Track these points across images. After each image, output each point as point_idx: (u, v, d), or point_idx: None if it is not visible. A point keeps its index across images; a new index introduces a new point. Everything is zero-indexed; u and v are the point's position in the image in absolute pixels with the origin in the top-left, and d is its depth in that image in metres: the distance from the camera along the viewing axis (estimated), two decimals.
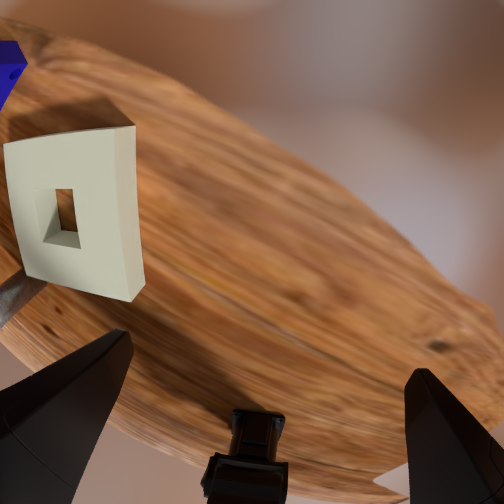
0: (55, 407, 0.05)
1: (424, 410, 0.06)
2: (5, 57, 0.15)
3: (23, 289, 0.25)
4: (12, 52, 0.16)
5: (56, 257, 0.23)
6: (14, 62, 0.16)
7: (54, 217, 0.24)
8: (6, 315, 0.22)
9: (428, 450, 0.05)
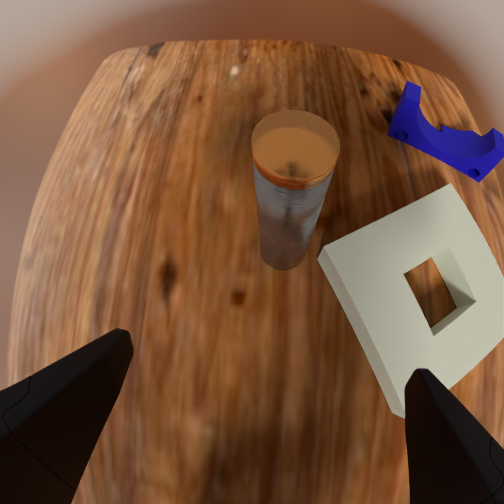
0: (55, 407, 0.05)
1: (424, 410, 0.06)
2: None
3: (306, 245, 0.19)
4: None
5: (399, 302, 0.19)
6: (487, 172, 0.23)
7: None
8: (298, 230, 0.16)
9: (428, 450, 0.05)
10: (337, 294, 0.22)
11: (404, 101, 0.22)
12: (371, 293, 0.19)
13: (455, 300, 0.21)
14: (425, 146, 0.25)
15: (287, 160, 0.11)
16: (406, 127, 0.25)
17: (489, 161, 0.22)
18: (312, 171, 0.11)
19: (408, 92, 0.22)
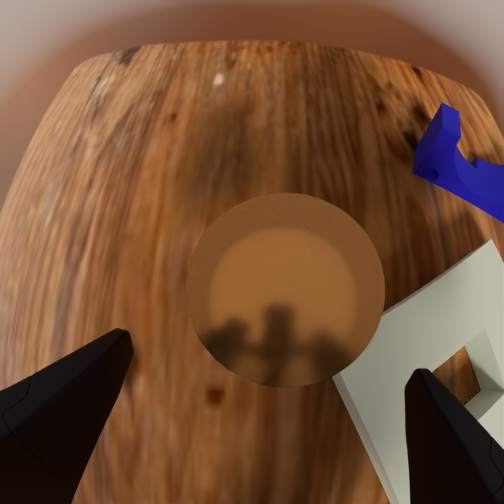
0: (55, 407, 0.05)
1: (424, 410, 0.06)
2: None
3: None
4: None
5: None
6: None
7: None
8: None
9: (428, 450, 0.05)
10: (341, 394, 0.15)
11: (440, 133, 0.16)
12: (385, 405, 0.13)
13: (480, 383, 0.15)
14: (458, 188, 0.19)
15: (264, 345, 0.05)
16: (438, 165, 0.18)
17: None
18: (318, 372, 0.05)
19: (445, 120, 0.15)
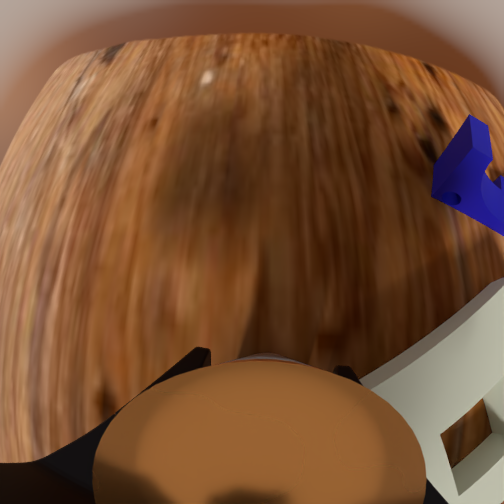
0: None
1: None
2: None
3: None
4: None
5: (426, 472, 0.09)
6: None
7: None
8: None
9: None
10: None
11: (469, 154, 0.12)
12: None
13: (492, 426, 0.12)
14: (482, 215, 0.16)
15: None
16: (462, 189, 0.15)
17: None
18: None
19: (475, 138, 0.12)
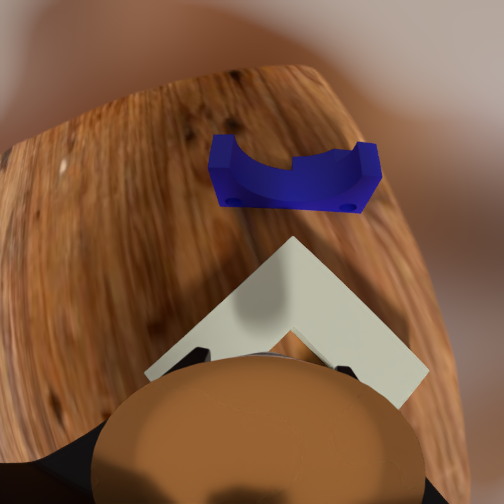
0: None
1: None
2: None
3: None
4: None
5: None
6: None
7: None
8: None
9: None
10: None
11: (210, 172, 0.20)
12: None
13: None
14: (269, 203, 0.24)
15: None
16: (233, 194, 0.23)
17: (362, 192, 0.21)
18: None
19: (213, 156, 0.20)
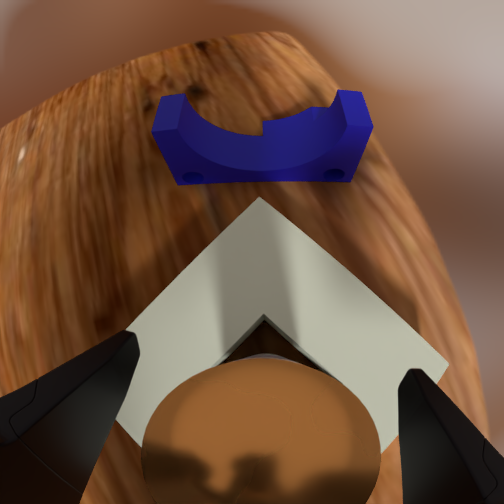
0: (62, 410, 0.05)
1: (417, 410, 0.06)
2: None
3: None
4: None
5: None
6: None
7: (218, 364, 0.15)
8: None
9: (421, 451, 0.05)
10: None
11: (156, 138, 0.15)
12: None
13: (322, 371, 0.15)
14: (235, 175, 0.19)
15: None
16: (190, 166, 0.18)
17: (349, 150, 0.16)
18: None
19: (158, 119, 0.15)
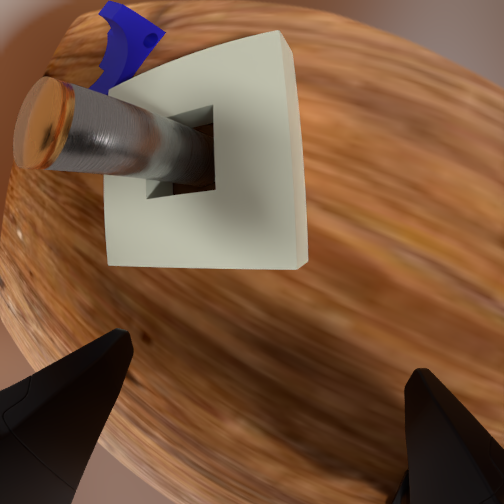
0: (55, 407, 0.05)
1: (424, 410, 0.06)
2: None
3: (193, 146, 0.15)
4: None
5: (166, 217, 0.18)
6: None
7: None
8: (146, 152, 0.12)
9: (428, 450, 0.05)
10: None
11: None
12: (149, 244, 0.19)
13: None
14: None
15: (31, 144, 0.08)
16: None
17: (134, 23, 0.17)
18: (45, 129, 0.07)
19: None
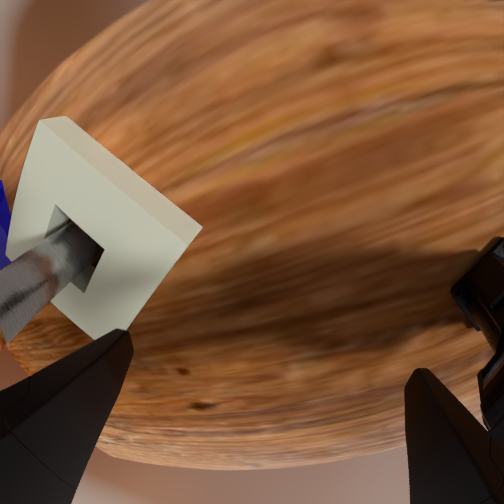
0: (55, 407, 0.05)
1: (424, 410, 0.06)
2: None
3: (68, 240, 0.17)
4: None
5: (102, 292, 0.20)
6: None
7: None
8: (43, 277, 0.14)
9: (428, 450, 0.05)
10: None
11: None
12: (112, 317, 0.21)
13: None
14: None
15: None
16: None
17: None
18: None
19: None
